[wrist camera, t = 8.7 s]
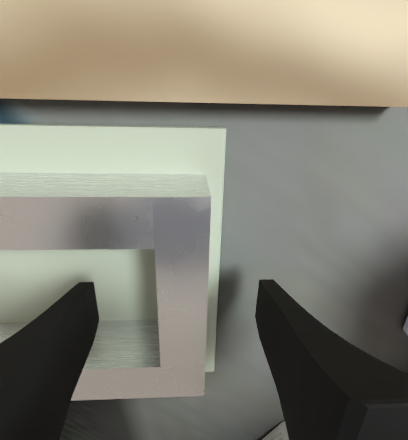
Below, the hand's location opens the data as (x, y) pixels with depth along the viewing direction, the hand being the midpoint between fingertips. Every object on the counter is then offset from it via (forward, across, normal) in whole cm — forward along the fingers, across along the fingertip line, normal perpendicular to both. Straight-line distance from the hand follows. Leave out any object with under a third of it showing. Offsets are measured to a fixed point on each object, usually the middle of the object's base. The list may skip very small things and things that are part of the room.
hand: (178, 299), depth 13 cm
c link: (+2, +5, 0) cm, 5 cm away
